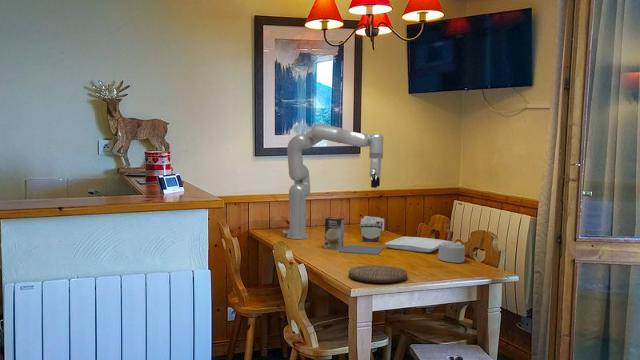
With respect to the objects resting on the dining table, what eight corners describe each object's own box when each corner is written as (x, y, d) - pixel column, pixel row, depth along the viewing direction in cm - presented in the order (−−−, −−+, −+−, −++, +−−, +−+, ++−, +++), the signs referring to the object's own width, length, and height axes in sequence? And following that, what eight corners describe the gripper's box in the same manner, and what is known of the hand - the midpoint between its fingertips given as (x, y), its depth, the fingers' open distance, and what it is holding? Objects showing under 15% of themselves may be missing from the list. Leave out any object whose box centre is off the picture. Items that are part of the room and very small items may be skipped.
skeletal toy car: (358, 227, 404) (358, 216, 404) (373, 226, 408) (374, 215, 407) (370, 232, 385) (370, 220, 385) (386, 231, 389) (386, 219, 388)
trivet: (406, 284, 251) (406, 279, 251) (345, 281, 256) (345, 276, 255) (408, 271, 276) (408, 267, 276) (352, 268, 280) (352, 264, 280)
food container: (381, 241, 351) (382, 223, 351) (381, 243, 345) (382, 225, 345) (360, 240, 353) (360, 223, 352) (359, 242, 347) (359, 224, 346)
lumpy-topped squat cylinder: (452, 256, 309) (452, 239, 309) (469, 261, 298) (470, 243, 297) (435, 258, 304) (436, 240, 304) (452, 263, 293) (453, 245, 292)
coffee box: (323, 248, 325) (324, 218, 324) (327, 246, 331) (328, 216, 330) (340, 250, 322) (341, 219, 321) (344, 248, 328) (344, 217, 327)
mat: (339, 252, 316) (339, 251, 316) (347, 245, 335) (347, 244, 335) (377, 254, 311) (378, 253, 311) (383, 247, 330) (383, 247, 330)
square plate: (403, 242, 351) (403, 235, 351) (450, 247, 337) (450, 240, 337) (383, 249, 328) (383, 242, 328) (432, 255, 314) (432, 247, 314)
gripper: (371, 155, 354) (371, 185, 355) (366, 156, 338) (366, 187, 339) (385, 156, 352) (384, 186, 354) (380, 156, 336) (379, 188, 337)
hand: (375, 186), depth 346 cm, fingers open, 9 cm apart
